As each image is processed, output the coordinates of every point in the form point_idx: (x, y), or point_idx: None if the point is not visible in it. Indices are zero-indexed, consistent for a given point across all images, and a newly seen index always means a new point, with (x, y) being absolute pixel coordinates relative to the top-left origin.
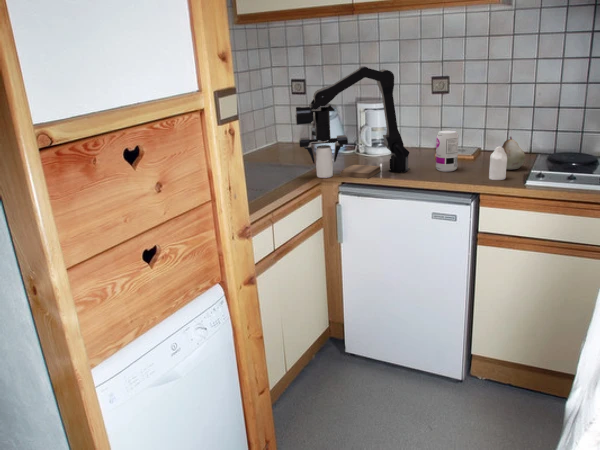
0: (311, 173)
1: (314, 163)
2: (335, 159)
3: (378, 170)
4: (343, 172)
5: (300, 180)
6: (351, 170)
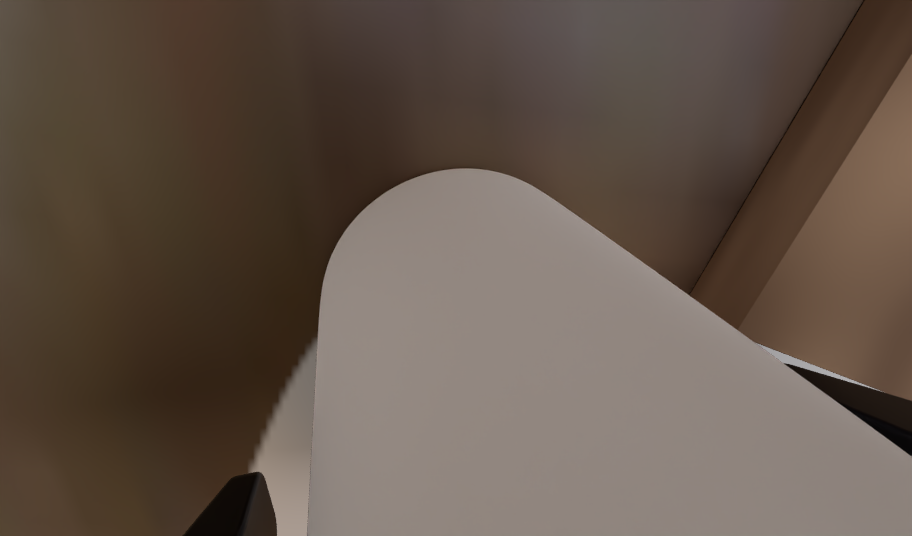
0: (156, 49)
1: (273, 512)
2: None
3: None
4: (762, 342)
5: (85, 515)
6: (897, 293)
